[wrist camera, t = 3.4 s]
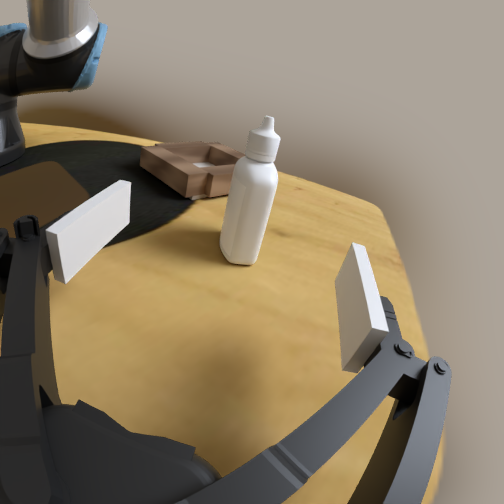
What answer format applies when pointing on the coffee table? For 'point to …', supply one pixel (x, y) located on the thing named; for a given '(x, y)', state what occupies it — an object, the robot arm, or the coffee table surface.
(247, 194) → the eye dropper bottle
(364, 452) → the coffee table surface
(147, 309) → the coffee table surface
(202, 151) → the socket block
